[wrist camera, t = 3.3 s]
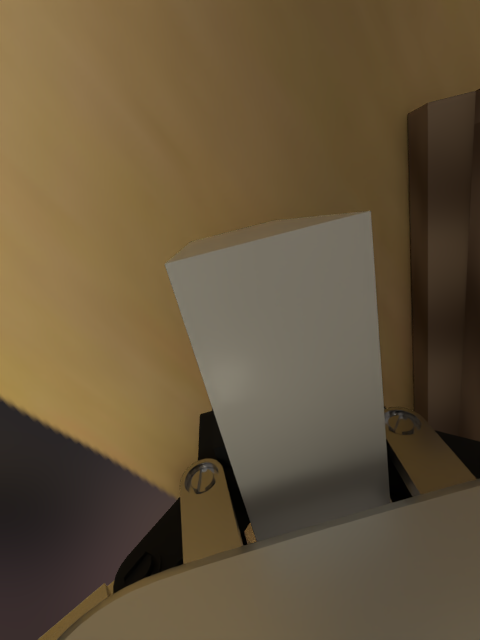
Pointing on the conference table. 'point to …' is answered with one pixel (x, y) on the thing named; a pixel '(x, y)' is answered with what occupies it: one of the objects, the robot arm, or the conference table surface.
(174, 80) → the conference table surface
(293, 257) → the light grey block
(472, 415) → the rack
